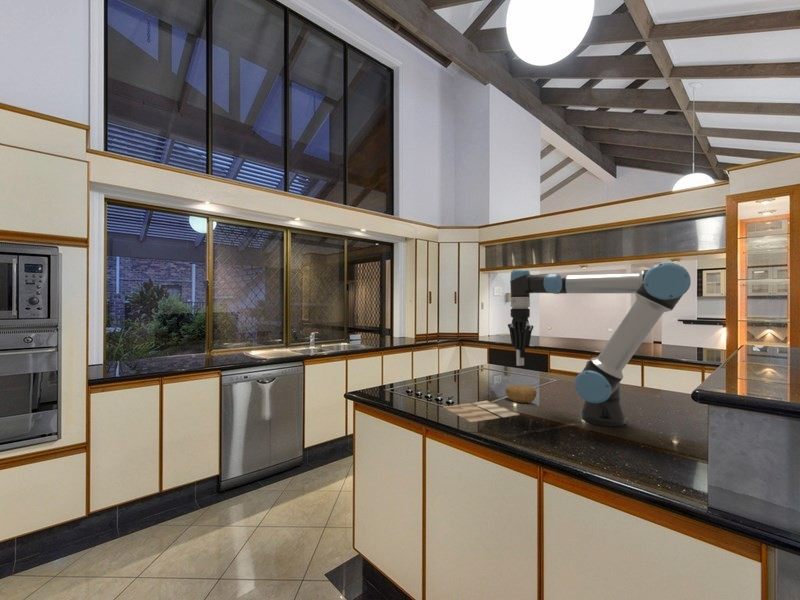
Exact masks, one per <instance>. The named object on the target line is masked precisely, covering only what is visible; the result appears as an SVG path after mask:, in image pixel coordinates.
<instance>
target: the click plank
mask: <svg viewBox="0 0 800 600" xmlns="http://www.w3.org/2000/svg"><path fill="white" fill-rule="evenodd" d="M471 404H472V405H474V406H477V407H479V408H481V409H483V410H485V411H487V412H490V413H492V414H494V415H496V416H498V417H500V418H508V417H509V418H510V417H517V416H520V415H521V414H520V413H518V412H516V411H514V410H512V409H509V408H506V407H505V406H502V405H499V404H497V403H494V402H492V401H490V400H487V399H486V400H482V401H477V402H472V403H471Z"/></svg>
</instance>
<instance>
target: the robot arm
mask: <svg viewBox="0 0 800 600" xmlns="http://www.w3.org/2000/svg"><path fill="white" fill-rule="evenodd" d="M689 273H690V272H688V270H687V269H686V268H685V267H684V266H682V265H680V264H678V263H674V262H662V263H658V264H656V265H654V266H652V267H651V268H650V269H642V271H640V272H634V273H633V272H630V273H629V272H627V273H624V272H623V273H603V274H602V273H600V274H599V273H598V274H594V273H593V274H573V275H572V274H571V275H568V274H567V275H564V274H563V275H560V274H559V273H551V272H550V273H544V274H541V273H540V274H531V273H530V270H529V269H517V270H516V269H515V270H512V271H511V272H510V285H509V286H510V307H511V308H510V318H512V319H511V323H507V327H508V330H509V336H510V342H511V347H512V348H514V349H515V357H516V358H515V359H516V361H515V362H516V365H515V366H518V367H519V366H522V367H523V366H525V357H526V350H527V349H530V343H531V336H532V331H533V330H534V325H531V324H530V322H529V318H530V315H531V312H530V311H531V310H530V307H531V300H530V298H531V297H530V296H531V294H555V295H559V294H561V295H562V294H635V297H636V300H635V302H634V303H633V304H632V306H631V308H629V311H628V312H627V313H626V315H625V317H624V318H623V319H622V320H621V322H620V324H619V325H618V327H617V328H616V329H615V331H614V332H613V334H612V335H611V337H610V338H609V340H608V341H607V343H606V344H605V345H604V347H603V348H602V350H601V351H600V353H599V354H598V356H596V357H591V358H590V359H589V360H587V361H586V363H585V366H584V368H583V369H582V371H581V372H579V373H578V374H577V375H576V377H575V380H574V388H575V391H576V393H577V394H578V396H579V397H580V398H581V399H582V400H584V404H583V407H582V410H581V419H582V420H583V421H585V422H587V423H590V424H594V425H599V426H603V427H621V426H625V425H626V423H627V421H626V415H625V413H624V410H623V407H622V404H621V381H622V380H623V378H624V375H623V370H624V369H625V368H626V365H628V363H629V361H630V360H631V359H632V357H633V356H634V354H635V353H636V352H637V350H638V349H639V348H640V346H641V345H642V343H644V341H645V339H646V338H647V336H648V335H649V334H650V333H651V331H652V329H654V327H655V326H656V325H657V323H658V321H659V319H660V318H661V317H662V316H663V314H664V313H666V312H671V311H673V310H674V308H675V307H676V305H677V304H678V303H679V301H680V300H681V299H682V297H683V296H684V295H685V294H686V293H687V292H688V291H689V290H690V288H691V287H690V286H691V282H692V281H691V280H692V279H691V275H690V274H689Z"/></svg>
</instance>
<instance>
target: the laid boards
mask: <svg viewBox="0 0 800 600" xmlns="http://www.w3.org/2000/svg"><path fill="white" fill-rule="evenodd" d="M442 408H444V409H445V410H447V411H449V412H451V413H453V414H454V415H456V416H459V417H460V418H462V419H464V420H465V421H467V422H469V423H477V422H482V421H489V420H495V419H501V416H499V415H497V414H494V413H492V412H490V411H488V410H486V409H483V408H481V407H479V406H477V405H475V404H472V403H461V404H455V405H447V406H442Z"/></svg>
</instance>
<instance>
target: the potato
mask: <svg viewBox="0 0 800 600" xmlns="http://www.w3.org/2000/svg"><path fill="white" fill-rule="evenodd" d="M505 394H506V396H507V398H508V399H509V400H511V401H513V402H515V403H516V402H517V403H521V404H522V403H523V404H530V403H531V404H532V403H533V401H535V399H536V397H537V390H536V388H534V387H532V386H528V385H527V386H526V385H519V384H518V385H517V384H515V385H514V384H511V385H509V386H507V387H506V388H505Z"/></svg>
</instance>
